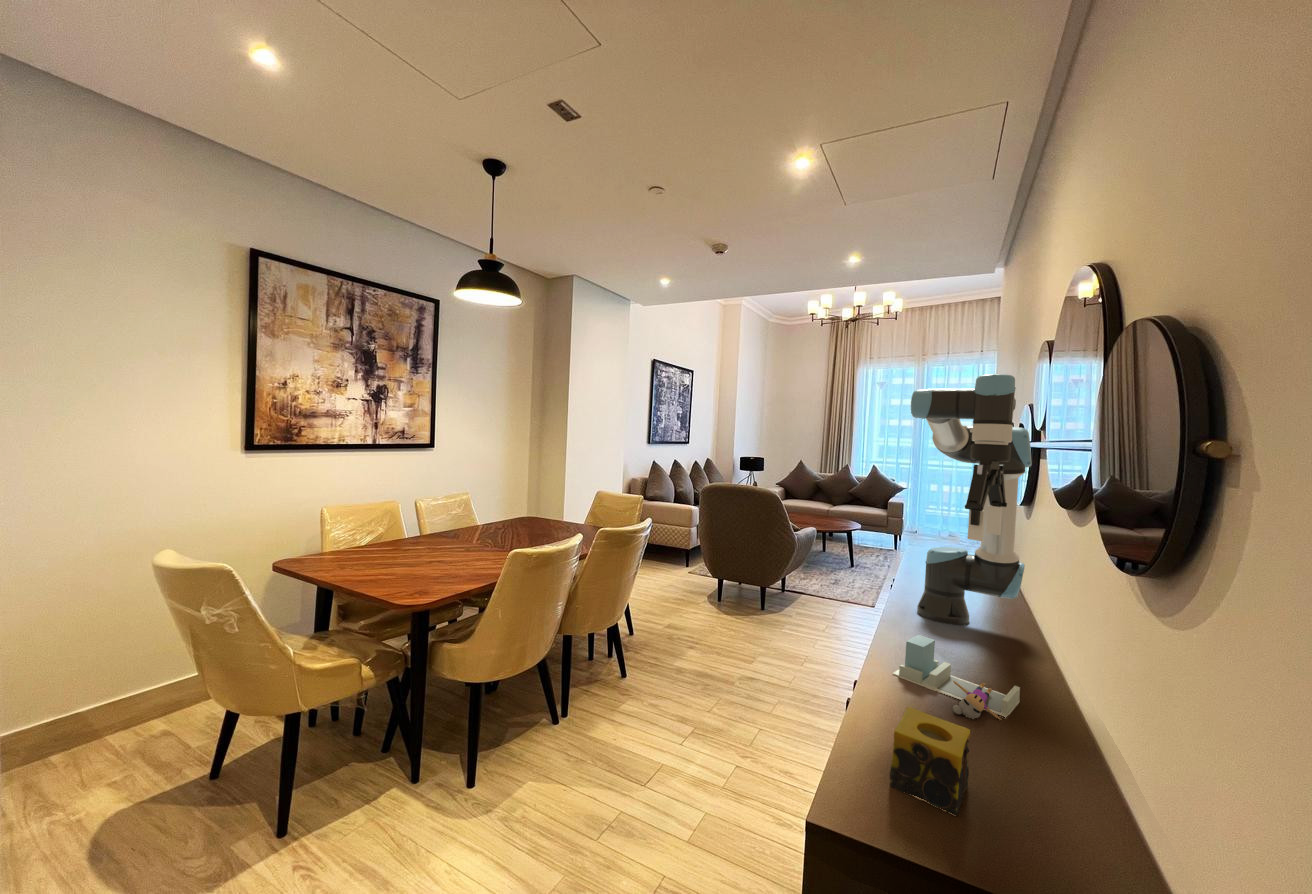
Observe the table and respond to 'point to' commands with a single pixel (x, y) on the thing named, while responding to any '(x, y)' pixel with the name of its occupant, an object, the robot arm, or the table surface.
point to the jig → (945, 685)
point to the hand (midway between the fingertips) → (984, 537)
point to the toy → (973, 702)
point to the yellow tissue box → (930, 759)
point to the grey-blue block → (920, 654)
